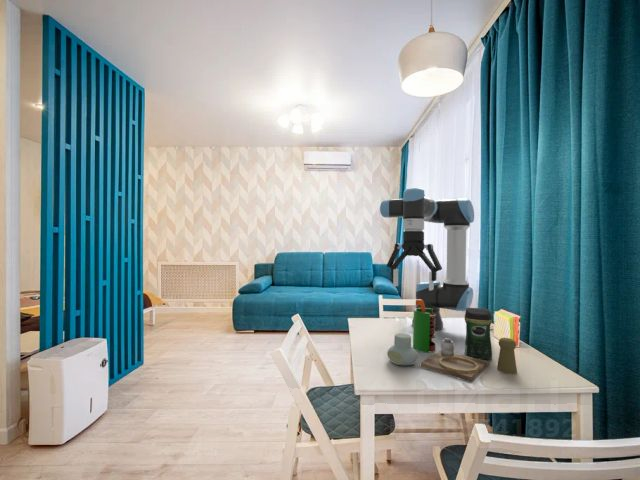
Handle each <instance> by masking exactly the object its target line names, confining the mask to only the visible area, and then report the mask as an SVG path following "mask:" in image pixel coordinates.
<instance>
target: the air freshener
mask: <svg viewBox="0 0 640 480" xmlns="http://www.w3.org/2000/svg"><path fill="white" fill-rule="evenodd" d="M393 340H394V341H393V343H394V345H391V346H390V347H389V348H388V349H387V352H386V354H387V358H388V359H389V360H390V362H392V363H394V364H395V365H397V366H400V367H401V366H411V365H413V364H415V363H416V362H417V361H418V359H419V353H418V350H415V349H414V348H413V346H412V336H411V335H410V334H408V333H402V332H401V333H396V334H394V339H393Z"/></svg>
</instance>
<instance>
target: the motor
mask: <svg viewBox="0 0 640 480" xmlns="http://www.w3.org/2000/svg"><path fill="white" fill-rule="evenodd" d="M416 305H421V308H416V307H415V308H413V318H414V322H413V326H412V328H413V329H412V332H413V333H412V348H414V349H415V350H416V351H417V352H422V353H431V352H435V351H436V350H437V349H436V342H434V341H433V339H435V338H436V335H435V334H436V330H435V322H434V321H435V318H433V317H436V315H435V314H434V313H433V309H430V308H425V305H424V302H423V300H421V299H416V298H415V306H416Z"/></svg>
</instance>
